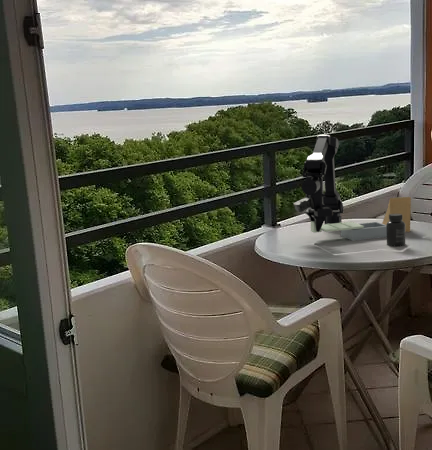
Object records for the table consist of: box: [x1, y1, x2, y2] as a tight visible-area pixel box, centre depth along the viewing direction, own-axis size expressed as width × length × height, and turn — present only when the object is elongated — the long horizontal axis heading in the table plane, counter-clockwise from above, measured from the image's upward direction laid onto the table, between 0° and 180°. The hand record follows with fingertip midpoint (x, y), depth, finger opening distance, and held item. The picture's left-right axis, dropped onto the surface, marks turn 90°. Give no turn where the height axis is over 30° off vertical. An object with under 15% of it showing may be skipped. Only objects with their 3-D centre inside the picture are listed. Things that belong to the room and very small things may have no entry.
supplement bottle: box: [386, 214, 406, 248], centre depth 239 cm, size 7×7×12 cm
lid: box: [310, 221, 364, 234], centre depth 253 cm, size 19×10×4 cm, turn 105°
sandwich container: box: [382, 196, 412, 233], centre depth 267 cm, size 9×15×15 cm, turn 0°
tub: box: [340, 221, 387, 242], centre depth 256 cm, size 16×10×5 cm, turn 105°
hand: (316, 230), depth 251 cm, fingers closed on lid, 3 cm apart
